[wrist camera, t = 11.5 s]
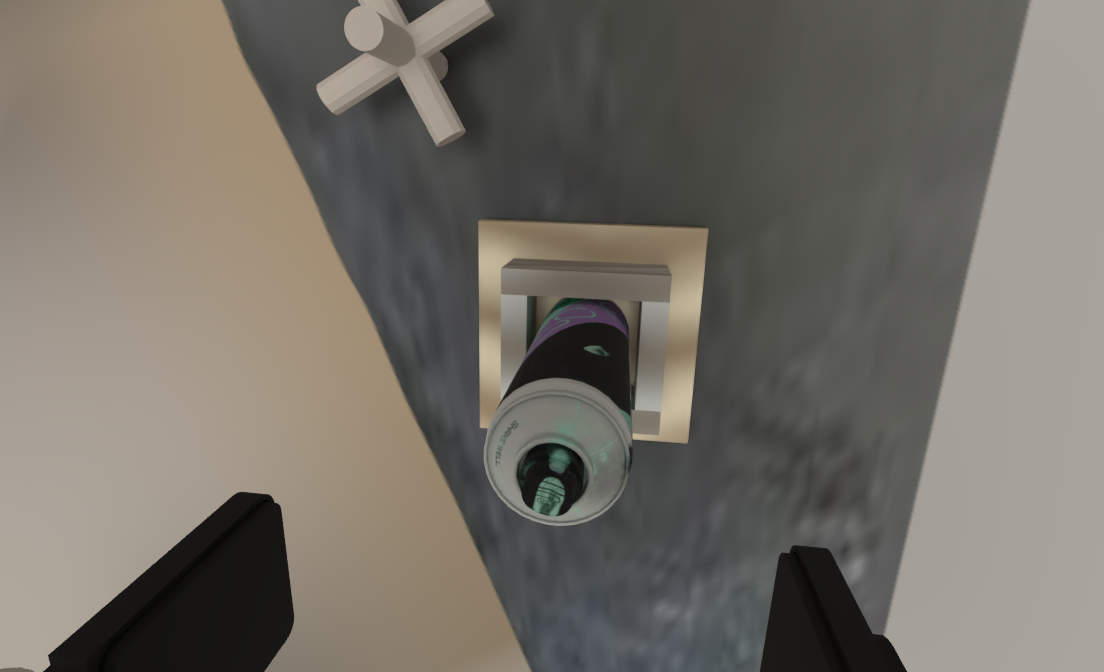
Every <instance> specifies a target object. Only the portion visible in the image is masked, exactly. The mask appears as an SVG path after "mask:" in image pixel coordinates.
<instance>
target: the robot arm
mask: <svg viewBox="0 0 1104 672" xmlns="http://www.w3.org/2000/svg"><path fill="white" fill-rule="evenodd" d="M293 623H294V612H293V603H292V595H291V587H290V578H289V570H288V561H287V553H286V545H285V537H284V529H283V521H282V512H281V507H280V505H279V504H277V503H274V500H273V498H272V497H271V496H270V495H268V494H257V493H248V492H239V493H236V494H235V495H233V496H232V497H231V498H230V499H229V500H228V501H226V503H224V504H223V505H222V506H221V507H219V508H218V509H217V510H216V511H215V512H214V513H213V514H211V516H209V517H208V518H207V519H206V520H204V521H203V522H202V523H201V524H200V525H199V526H198V527H196V528H195V529H194V530H193V531H192V532H191V533H190V534H188V535H187V536H186V537H185V538H184V539H182V540H181V541H180V542H179V543H178V544H177V545H175V546H174V547H173V548H172V549H171V550H170V551H168V552H167V553H166V554H165V555H164V556H163V557H162V558H160V559H159V560H158V561H157V562H156V563H155V564H153V565H152V566H151V567H150V568H149V569H148V570H146V571H145V572H144V573H143V574H142V575H141V576H140V577H138V578H137V579H136V580H135V581H134V582H133V583H131V584H130V585H129V586H128V587H127V588H126V589H124V590H123V591H122V592H121V593H120V594H119V595H117V596H116V597H115V598H114V599H113V600H112V601H111V602H109V603H108V604H107V605H106V606H105V607H104V608H102V609H101V610H100V611H99V612H98V613H97V614H95V615H94V616H93V617H92V618H91V619H90V620H89V621H87V622H86V623H85V624H84V625H83V626H82V627H80V628H79V629H78V630H77V631H76V632H75V633H73V634H72V635H71V636H70V637H69V638H68V639H67V640H65V641H64V642H63V643H62V644H61V645H60V646H59V647H57V648H56V649H55V650H54V651H53V652H51V653H50V654H49V655H48V657H49V661H50V666H49V667H48V668H47V669H46V670H45V671H43V672H264V671H265V670H266V668H267V667H268V665H269V664H270V663H271V661H272V660H273V658H274V657H275V655H276V654H277V652H278V651H279V650H280V648H281V647H282V646H283V644H284V643H285V641H286V640H287V638H288V637H289V635H290V633H291V630H292V627H293ZM0 672H34V671H32V670H29V669H24V668H4V669H0ZM760 672H907V671H906V669H905V667H904V665H903V664H902V662H901V660H900V658H899V656H898V654H897V652H896V651H895V649H894V647H893V646H892V644H891V643H890V641H889V640H888V639H887V638H886V637H884V636H883V635H877V634H872V632H871V630H870V628H869V626H868V624H867V622H866V620H865V618H864V616H863V614H862V612H861V610H860V609H859V607H858V605H857V603H856V601H855V599H854V597H853V595H852V593H851V591H850V589H849V587H848V585H847V583H846V581H845V579H844V577H843V575H842V573H841V571H840V570H839V568H838V566H837V564H836V562H835V560H834V558H833V556H832V554H831V552H830V551H829V550H828V549H826V548H817V547H807V546H797V545H794V546H792V548H791V550H790V553H781V554H780V556H779V560H778V566H777V572H776V578H775V584H774V590H773V596H772V602H771V608H770V614H769V620H768V626H767V632H766V638H765V644H764V650H763V656H762V662H761V668H760Z"/></svg>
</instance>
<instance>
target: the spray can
mask: <svg viewBox="0 0 1104 672" xmlns="http://www.w3.org/2000/svg"><path fill="white" fill-rule="evenodd" d="M632 455H633V438H632V404H631V370H630V337H629V327H628V323H627V320H626V317H625V315H624V313H623V312H622V310H621V309H620V307H619V306H618V305H617V304H616V303H615V302H613V301H612V300H605V299H585V298H565V297H564V298H563V299H561V300H560V301H559V302H558V303H556V304H555V305H554V306H553V308H552V309H551V310H550V312H549V313H548V315H547V317H546V319H545V320H544V322H543V324H542V326H541V328H540V330H539V332H538V333H537V335H536V337H535V339H534V341H533V343H532V345H531V346H530V348H529V350H528V352H527V354H526V356H525V358H524V359H523V361H522V363H521V365H520V367H519V369H518V371H517V372H516V374H515V376H514V378H513V380H512V382H511V384H510V385H509V387H508V389H507V391H506V393H505V395H504V396H503V398H502V400H501V402H500V404H499V406H498V408H497V409H496V411H495V413H494V415H493V417H492V420H491V422H490V424H489V427H488V431H487V436H486V441H485V446H484V464H485V469H486V473H487V476H488V478H489V481H490V483H491V485H492V487H493V489H494V490H495V492H496V493H497V494H498V496H499V497H500V498H501V499H502V500H503V501H504V502H505V503H506V504H507V505H508V506H509V507H510V508H511V509H513V510H514V511H516V512H517V513H518V514H520V515H522V516H524V517H526V518H528V519H530V520H533V521H535V522H539V523H543V524H547V525H557V526H565V525H575V524H579V523H583V522H586V521H589V520H591V519H593V518H595V517H597V516H599V515H601V514H602V513H604V512H605V511H606V510H607V509H609V508H610V507H611V506H612V505H613V504H614V503H615V502H616V500H617V499H618V498H619V497H620V495H621V493H622V491H623V489H624V488H625V486H626V483H627V479H628V476H629V472H630V468H631V465H632Z"/></svg>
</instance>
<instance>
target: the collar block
mask: <svg viewBox="0 0 1104 672" xmlns="http://www.w3.org/2000/svg"><path fill="white" fill-rule="evenodd" d="M478 222H479V353H480V428H488V427H489V424H490V422H491V420H492V417H493V415H494V413H495V411H496V409H497V408H498V406H499V404H500V402H501V400H502V398H503V396H504V395H505V393H506V391H507V389H508V387H509V385H510V384H511V382H512V380H513V378H514V376H515V374H516V372H517V371H518V369H519V367H520V365H521V363H522V361H523V359H524V358H525V356H526V354H527V352H528V350H529V348H530V346H531V345H532V343H533V341H534V339H535V337H536V335H537V333H538V332H539V330H540V328H541V326H542V324H543V322H544V320H545V319H546V317H547V315H548V313H549V312H550V310H551V309H552V308H553V306H554V305H555V304H556V303H558V302H559V301H560V300H561V299H563V298H564V297H565V298H585V299H605V300H612V301H613V302H615V303H616V304H617V305H618V306H619V307H620V309H621V310H622V312H623V313H624V315H625V317H626V320H627V323H628V327H629V337H630V370H631V404H632V438H633V439H636V440H649V441H663V442H676V443H688V436H689V425H690V415H691V405H692V394H693V384H694V373H695V363H696V353H697V342H698V332H699V321H700V311H701V301H702V290H703V280H704V269H705V259H706V249H707V238H708V228H706V227H689V226H661V225H634V224H607V223H580V222H552V221H525V220H498V219H481V220H478Z"/></svg>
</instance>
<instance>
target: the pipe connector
mask: <svg viewBox="0 0 1104 672" xmlns="http://www.w3.org/2000/svg"><path fill="white" fill-rule="evenodd" d="M358 1H359V3H360V5H361V6H359V7H356V8H354V9H352V10H351V11H350V12H349V14H348V15H347V17H346V20H345V25H344V30H345V35H346V37H347V40H348V41H349V43H350V44H351V45H352V46H353V47H354V48H356V49H358V50H360V51H363V52H365V53H364V54H363V55H361V56H360V57H358V58H357V59H355V60H354V61H352V62H351V63H349V64H348V65H346V66H345V67H343V68H341V69H340V70H338V71H337V72H335V73H334V74H332V75H331V76H329V77H328V78H326V79H325V80H323V81H322V82H320V83H319V84H317V92H318V94H319V96H320V98H321V100H322V101H323V102H324V104H325V105H326V107H327V108H328V109H329V110H330V111H331V112H332V113H334V114H336V115H339V114H341V113H342V112H344V111H346V110H347V109H349V108H350V107H352V106H353V105H355V104H357V103H358V102H360V101H361V100H363V99H364V98H366V97H368V96H369V95H371V94H372V93H374V92H375V91H377V90H379V89H380V88H382V87H383V86H385V85H386V84H388V83H390V82H391V81H393V80H394V79H396V78H397V77H400V79H401V81H402V83H403V85H404V86H405V88H406V90H407V92H408V94H409V96H410V98H411V99H412V101H413V103H414V105H415V107H416V109H417V110H418V112H419V114H420V116H421V118H422V120H423V122H424V123H425V125H426V127H427V129H428V131H429V133H430V135H431V136H432V138H433V140H434V142H435V144H436V146H437V147H440V146H443V145H446V144H448V143H450V142H452V141H454V140H456V139H457V138H459V137H460V136H462V135H463V134H464V133H465V132H466V131H465V128H464V127H463V125H462V123H461V121H460V119H459V117H458V115H457V113H456V111H455V110H454V108H453V106H452V104H451V102H450V100H449V98H448V96H447V94H446V93H445V91H444V89H443V87H442V85H441V83H440V81H441V80H442V79H443V78H444V77H445V76H446V74H447V71H448V62H447V59H446V57H445V56H444V55H443V54H442V53H441V52H440V50H441V49H443V48H445V47H446V46H448V45H449V44H451V43H452V42H454V41H456V40H457V39H459V38H460V37H462V36H463V35H465V34H467V33H468V32H470V31H471V30H473V29H474V28H476V27H478V26H479V25H481V24H482V23H484V22H485V21H487V20H489V19H490V18H492V17H493V16H494V13H493V11H492V8H491V6H490V4H489V2H488V0H445V1H443V2H442V3H440V4H439V5H437V6H436V7H434V8H433V9H431V10H430V11H428V12H427V13H425V14H424V15H422V16H420V17H419V18H417V19H416V20H414V21H413V22H411V23H410V24H409V22H408V21H407V19H406V17H405V15H404V13H403V11H402V9H401V7H400V5H399V3H398V2H397V0H358Z"/></svg>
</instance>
